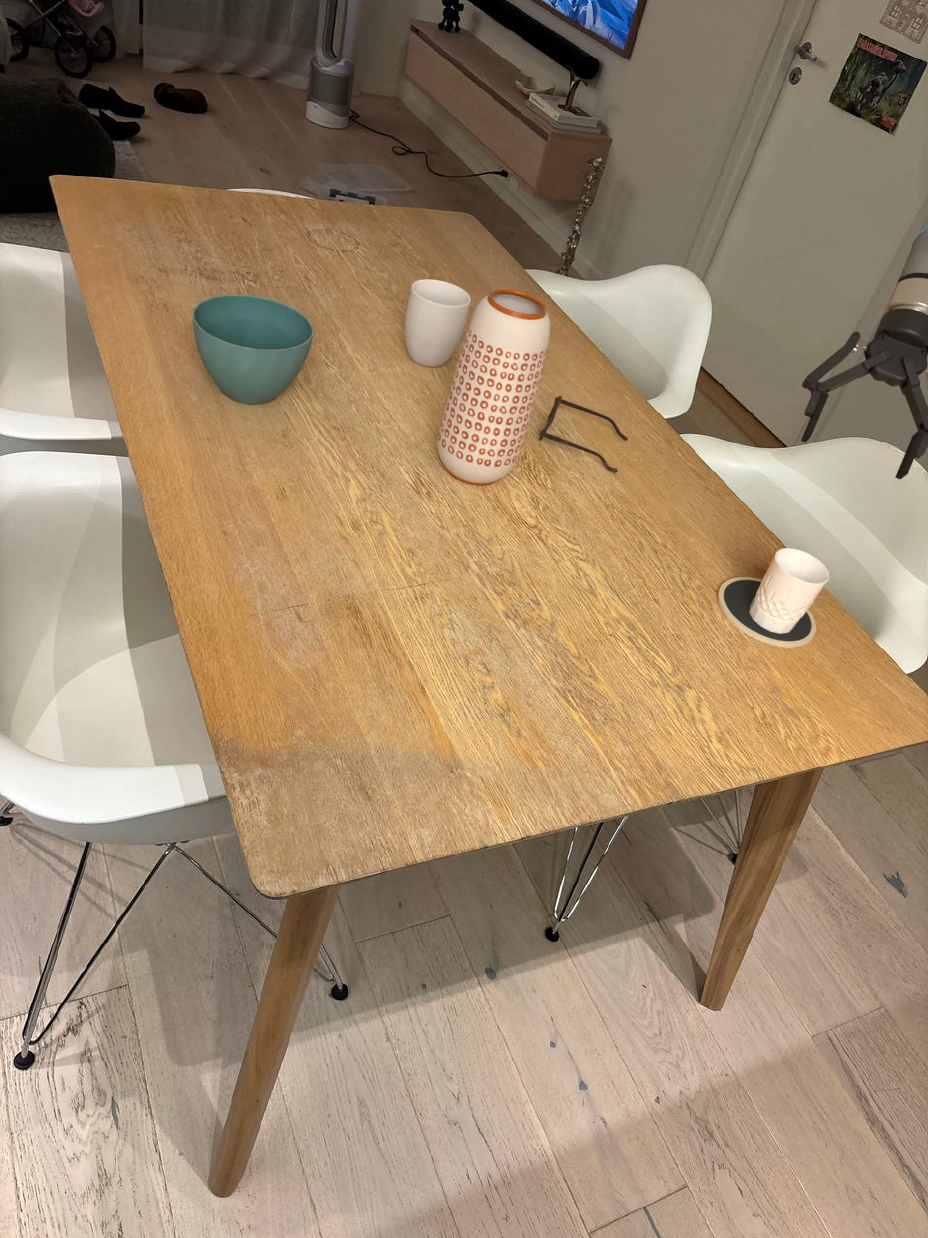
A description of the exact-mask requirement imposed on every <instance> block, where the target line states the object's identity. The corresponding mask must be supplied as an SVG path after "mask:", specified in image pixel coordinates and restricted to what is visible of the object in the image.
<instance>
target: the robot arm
mask: <svg viewBox="0 0 928 1238" xmlns="http://www.w3.org/2000/svg"><path fill="white" fill-rule="evenodd" d="M860 351H863V356H864V358H865V360H863V361H862V362H860V363H858V364H857V365H855V366H852V367H850V368H848V369H846V370H844V371H841V372H840V373H838V374H836V375H834V376H832V377H830V378H828V379H826V380H823V381H822V382H820V380H821V379H822V378H823V377H825V376H826V375H827V374H828V373H829V372H830V371H832V370H833V369H834V368H836V367H837V366H838V365H839V364H841V363H842V362H843V361H844V360H845V359H846V358H847V357H848V356H849V355H850V354H857V353H858V352H860ZM921 374H925V376H926V382H927V383H928V218H927V219H926V220H925V221H924V222H923V224H922V226H921V228H920V230H919V232H918V234H917V236H916V237H915V238H914V240H913V242H912V244H911V248H910V251H909V253H908V256H907V258H906V260H905V263H904V266H903V268H902V270H901V272H900V275H899V277H898V280H897V283H896V285H895V287H894V289H893V292H892V294H891V297H890V299H889V301H888V303H887V305H886V308H885V310H884V314H882V317H881V319H880V321H879V324H878V326H877V328H876V331H875V333H874V335H873V338H872V340H870V341H868V340H866V339H865V338H862V337H861V333H860V332H859V331H853V332H852V333H851V334H850V336H849V337H848V338H847V340H846V342H845V343H844V345H843V346H842V347H841V348H839V349H838V350H837V351H836V352H834V353H833V354H832V355H830V356H829V357H828V358H827V359H826V360H824V361H823V362H822V363H821V364H819V365H818V366H816V368H815V369H814V370H812V371H810V373H809V374H808V375H806V377H805V379H804V380H803V381H802V383H801V385H802V386H801V387H802V388H803V389H806V390H808V391H809V392H810V398H809V400H808V402H807V405H806V408H805V409H804V416H805V417H808V418H809V420H808V423H807V425H806V427H805V430H804V432H803V434H802V437H801V438H800V442H803V443H807V442H808V441H809V440H810V439H811V437H812V435H813V433H814V431H815V430H816V429H815V428H816V426H817V424H818V421H819V419H820V416H821V415H822V412H823V410H824V408H825V405H826V403H827V401H828V398H829V396H830V392H833V391H834V390H837V389H839V388H841V387H843V386H845V385H847V384H849V383H851V382H853V381H856V380H858V379H861V378H863V377H865V376H867V375H870V376H871V377H872V380H874V381H877V382H884V383H885V384H887V385H888V386H891V387H892V388H895V387H899V389H900V392H901V394H902V395H903V396H904V399H905V400H906V403H907V406H908V408H909V411H910V413H911V416H912V418H913V421H914V425H915V427H916V429H917V431H916V432H915V433H914V434H913V435H912V436H911V438H910V441H909V443H908V446H907V448H906V451H905V453H904V455H903V457H902V460H901V461H900V464H899V467H898V470H897V472H896V474H895V477H894V478H895V479H898V480H902V479H903V478H904V477H906V476H907V475H908V474H909V472H910V470H911V468H912V465H913V462H914V459H917V460H918V459H920V458H921V457H922V456H924V454H926V452H927V449H928V403H927V402H926V398H925V396H924V394H923V390H922V388H921V380H920V377H919V376H921Z"/></svg>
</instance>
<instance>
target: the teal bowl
mask: <svg viewBox="0 0 928 1238" xmlns="http://www.w3.org/2000/svg"><path fill="white" fill-rule="evenodd" d="M192 328H193V335H194V341H195V345H196V348H197V351H198V354H199V357H200V359H201V362H202V365H203V366H204V368H205V371H206V372H207V374H208V375H209V377H210V379H211V380H212V381H213V382H214V383H215V385H216V386H217V388H218V389H219V390H220V391H221V392H222V393H223V394H224V395H225V396H226V397H228V398H229V399H231V400H232V401H234V402H237V403H240V404H245V405H264V404H267V403H269V402H271V401H273V400H274V399H275V398H277V397H278V396H279V395H280V394H282V393H283V392H284V391H285V390H286V389H288V387H289V386H290V385H291V384H292V383H293V382H294V381H295V379H296V378H297V377H298V375H299V373H300V372H301V370H302V368H303V367H304V364H305V362H306V360H307V358H308V355H309V352H310V350H311V348H312V347H311V346H312V343H313V338H314V332H315V331H314V325H313V324H312V322H311V320H309V319H308V317H307V316H305V314H303V313H302V312H301V311H299V310H297V309H296V308H294V307H292V306H290V305H288V304H285V303H283V302H280V301H278V300H274V299H270V298H267V297H262V296H256V295H249V294H223V295H216V296H212V297H209V298H206V299H204V300H202V301H200V302H199V303H197V304H196V305H195V307H194V308H193V309H192Z"/></svg>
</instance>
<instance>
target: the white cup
mask: <svg viewBox="0 0 928 1238" xmlns="http://www.w3.org/2000/svg"><path fill="white" fill-rule="evenodd" d="M765 571H766V572H765V573H764V575H763V578H761V579H762V581H761V584H760V586H759V588H758V590H757V593H756V596H755V598H754V599H753V601H752V603H751V605H750V611H749V613H750V615H751V617H752V619H753V620H754V621H755V622H756V623H757V624H758V625H759V626H761V627H762V628H764V629H766V630H768V631H770V632H774V633H779V634H783V633H789V632H790V631H791V630H792V629H793V628H794V627H795V625H796V624H797V622H798V621H799V619H800V618H802V616H803V615H804V614H805V612H806V611H807V610H808V609H809V608H810V607H811V606H812V604H813V603H814V602H815V600H816V599H817V597H818V596H819V595H820V593H821V592H822V590H823V589H824V587H825V586H826V584H827V583H828V581H829V580H830V572H829V570H828V568H827V566H825V564H824V563H823V562H822V561H820V560H819V559H818V558H817V557H816V556H814V555H812V554H810V553H808V552H806V551H803V550H800V549H797V548H792V547H791V548H790V547H785V548H784V547H783V548H780V549H778V550H776V552H775V553H774V556H773V558H772V560H771V562H770V563H769V566H768V567H767V570H765Z"/></svg>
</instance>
